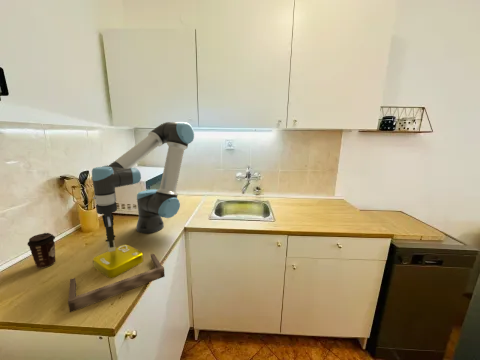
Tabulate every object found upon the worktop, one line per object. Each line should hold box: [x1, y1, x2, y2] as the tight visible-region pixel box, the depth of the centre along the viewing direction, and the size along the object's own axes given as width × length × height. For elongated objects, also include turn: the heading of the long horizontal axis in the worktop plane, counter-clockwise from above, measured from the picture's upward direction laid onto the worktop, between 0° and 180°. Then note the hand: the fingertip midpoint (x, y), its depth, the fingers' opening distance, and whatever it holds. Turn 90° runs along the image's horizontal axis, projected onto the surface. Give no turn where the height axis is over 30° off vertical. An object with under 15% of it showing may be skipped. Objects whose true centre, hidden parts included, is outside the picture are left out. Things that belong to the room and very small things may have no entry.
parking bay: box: [67, 253, 165, 313], centre depth 82 cm, size 30×14×4 cm, turn 126°
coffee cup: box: [26, 232, 56, 269], centre depth 91 cm, size 9×8×13 cm
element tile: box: [92, 244, 144, 279], centre depth 93 cm, size 15×15×5 cm
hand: (112, 252), depth 96 cm, fingers closed
